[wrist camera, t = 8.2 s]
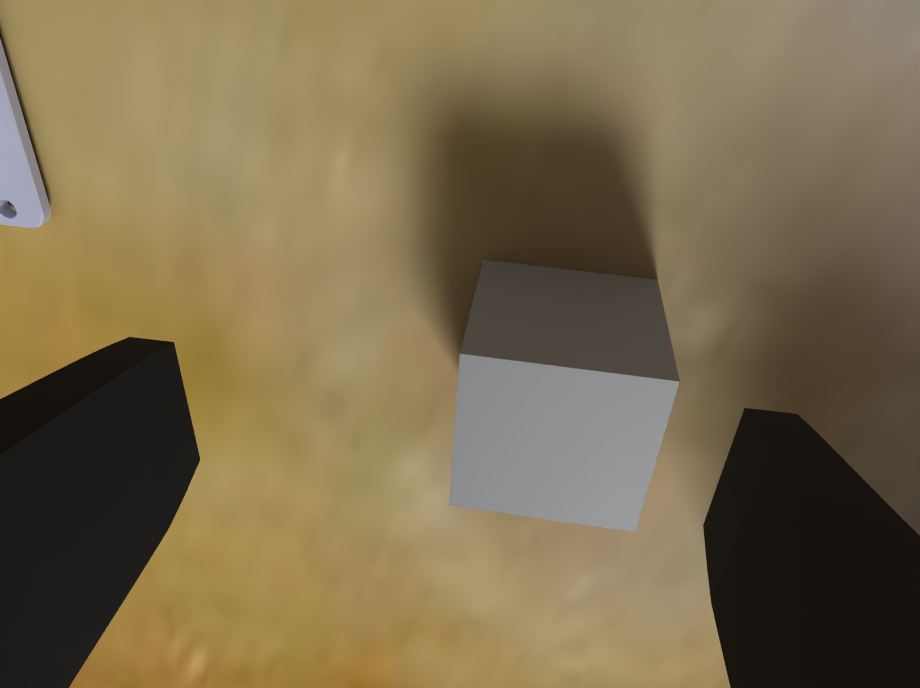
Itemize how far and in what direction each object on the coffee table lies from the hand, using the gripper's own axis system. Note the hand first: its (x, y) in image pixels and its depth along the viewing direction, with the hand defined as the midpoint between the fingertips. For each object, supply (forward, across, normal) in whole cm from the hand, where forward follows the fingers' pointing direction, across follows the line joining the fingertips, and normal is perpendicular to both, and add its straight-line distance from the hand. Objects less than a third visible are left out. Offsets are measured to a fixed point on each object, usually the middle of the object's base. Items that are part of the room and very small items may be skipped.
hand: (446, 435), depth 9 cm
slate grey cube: (+10, -2, +4) cm, 11 cm away
